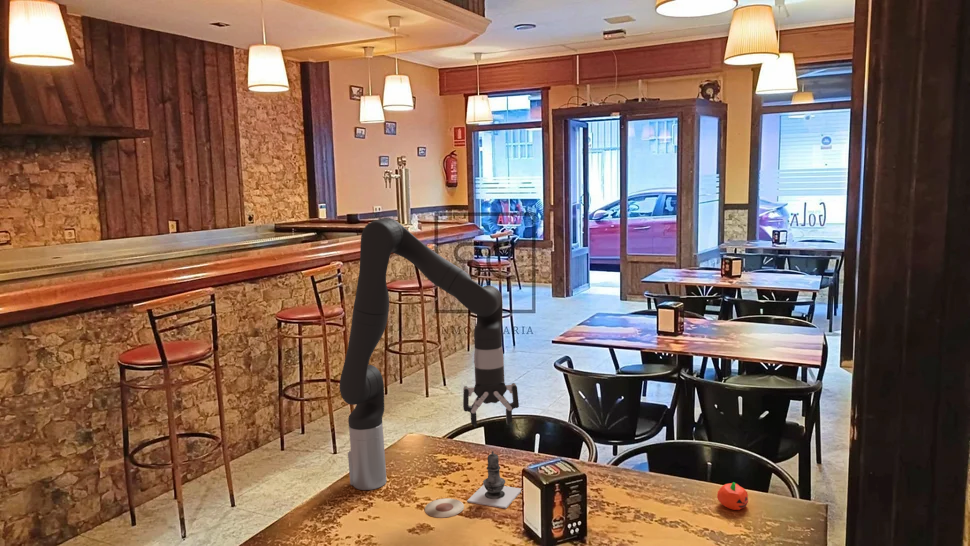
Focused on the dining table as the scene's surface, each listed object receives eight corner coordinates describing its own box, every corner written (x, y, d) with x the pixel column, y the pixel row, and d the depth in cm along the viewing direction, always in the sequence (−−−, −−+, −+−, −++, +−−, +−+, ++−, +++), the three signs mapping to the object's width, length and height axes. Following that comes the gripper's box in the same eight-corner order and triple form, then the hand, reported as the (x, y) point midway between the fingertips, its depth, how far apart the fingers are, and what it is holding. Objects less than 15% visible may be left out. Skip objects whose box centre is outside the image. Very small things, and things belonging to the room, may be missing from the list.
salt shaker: (503, 500, 174) (501, 455, 172) (481, 499, 175) (479, 454, 173) (507, 490, 179) (505, 446, 178) (486, 489, 181) (483, 446, 179)
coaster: (417, 513, 170) (417, 513, 169) (436, 496, 178) (436, 495, 178) (452, 520, 165) (452, 519, 165) (470, 502, 174) (470, 501, 174)
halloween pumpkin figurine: (748, 503, 168) (752, 479, 166) (744, 517, 161) (748, 493, 159) (718, 495, 171) (722, 471, 170) (713, 508, 164) (716, 484, 163)
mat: (467, 501, 175) (467, 500, 175) (485, 484, 184) (485, 482, 184) (506, 508, 170) (506, 507, 170) (522, 490, 180) (522, 488, 180)
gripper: (462, 369, 168) (465, 432, 171) (518, 366, 170) (521, 428, 172) (460, 362, 176) (463, 421, 178) (514, 358, 177) (517, 418, 179)
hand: (491, 424), depth 175 cm, fingers open, 8 cm apart
